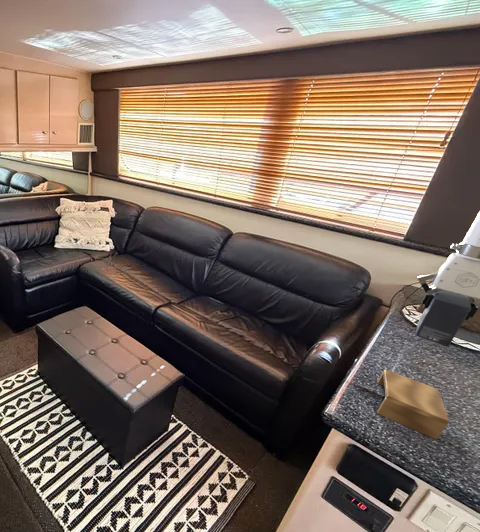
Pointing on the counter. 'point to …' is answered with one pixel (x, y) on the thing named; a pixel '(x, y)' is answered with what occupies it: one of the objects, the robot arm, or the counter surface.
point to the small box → (443, 317)
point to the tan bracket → (413, 404)
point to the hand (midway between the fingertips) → (444, 312)
